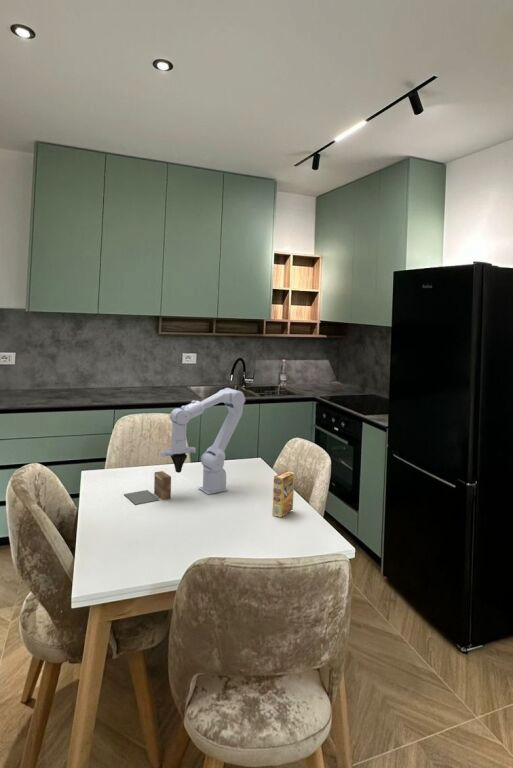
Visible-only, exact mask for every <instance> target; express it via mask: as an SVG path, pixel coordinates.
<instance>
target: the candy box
mask: <svg viewBox="0 0 513 768" xmlns="http://www.w3.org/2000/svg"><path fill="white" fill-rule="evenodd" d="M294 487H295V472H294V471H293V472H292V471H288V470H285V471H283V472H280V473H278V474H277V475H276V474H275V476H273V492H272V494H273V495H272V513H271V514H272V516H273V515H275V517H277V516H278V517H277V518H280V517H281V518H283V517H285V516H286V515H288V514H289V513H288V512H290V511H291V510H293V509H294V508H293V507H294ZM287 513H288V514H287ZM290 513H291V512H290ZM285 514H286V515H285ZM284 515H285V516H284ZM282 516H283V517H282Z"/></svg>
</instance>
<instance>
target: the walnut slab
mask: <svg viewBox="0 0 513 768" xmlns="http://www.w3.org/2000/svg"><path fill="white" fill-rule="evenodd" d="M153 485H154V486H153V488H154V491H153V493H154V494H153V495H155V496H156V497H157V498H159V499H160V500H162V501H165V500H169V499H171V498H172V497H171V496H172V495H171V494H172V476H171V475H170V474H168V473H166V472H165V471H163V470H160V471H155V472H154V484H153Z"/></svg>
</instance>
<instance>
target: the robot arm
mask: <svg viewBox="0 0 513 768" xmlns="http://www.w3.org/2000/svg"><path fill="white" fill-rule="evenodd" d="M220 403H221V404H222V403H224V405H225V406H226V409H227V410H228V413H227V416H226V417H225V419H224V422H222V425H221V427H220V430H219V432H218V434H217V435H216V438H215V439H214V442H213V444H212V445H210V446H209V447H207V449H206V451H205V452H203V454H202V455H201V456H200V463H201V465H202V469H203V470H202V471H203V472H202V486H198V489H199V490H200V491H202V492H203V493H204V494H207V495H212V494H215V493H221V492H226V491H228V489H227V472H226V469H224V465H225V459H226V453H225V450H226V449H227V446H228V444H229V442H230V440H231V438H232V435H233V433H234V432H235V430H236V428H237V426H238V424H239V421H240V420H241V417H242V415H243V410H244V405H245V403H246V396H245V394H244V393H243V392H242V390H236V389H233V388H230V387H225V388H224V389H220V390H219V391H217V392H216V393H215V394H212V395H211V396H209V397H207V398H205V399H203V400H201V401H200V400H194V399H193V400H191V402H190V403H188V404H186V405H182V406H181V407H180V408H179V407H178V408H177V407H176V408H173V409H172V411H171V412H170V415H169V420H170V421H171V448H169V449H166V450H161V451H160V456H161V458H166V457H170V458H171V460H172V463H173V466H174V469H175V472H176V473H179V474H180V473H181V472H182V469H183V466H184V464H185V462H186V460H187V458H188V455H187V454H190V453H193V454H195V453H196V452H197V451H196V450H197V448H196V447H194V446H189V447H187V426H188V425H187V424H188V423H189V422H190V420H191V419H193V418H195V417H198V416H200V415H202V414H203V413H204V411H205V409H208V408H210V407H212V406H216V405H218V404H220Z"/></svg>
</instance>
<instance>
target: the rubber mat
mask: <svg viewBox="0 0 513 768" xmlns="http://www.w3.org/2000/svg"><path fill="white" fill-rule="evenodd" d="M123 496H125V497H126V499H128V500H129V501H130V502H131V503H133V505H135V506H137V505H143V504H148V503H152V502H159V501H160V500H161V498H159V497H158V496H157V495H156V494H153V493H152V492H151V491H149V490H148V489H144V490H140V491H135V492H133V491H132V492H128V493H124V494H123Z"/></svg>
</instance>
